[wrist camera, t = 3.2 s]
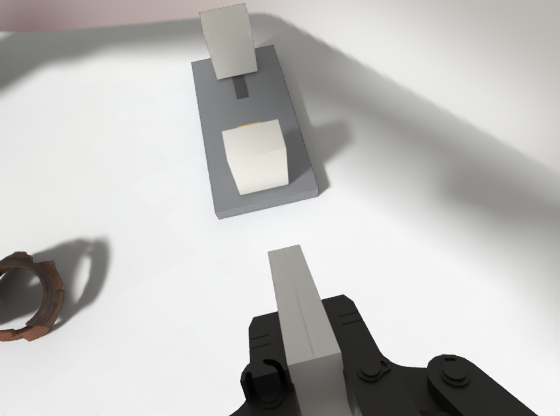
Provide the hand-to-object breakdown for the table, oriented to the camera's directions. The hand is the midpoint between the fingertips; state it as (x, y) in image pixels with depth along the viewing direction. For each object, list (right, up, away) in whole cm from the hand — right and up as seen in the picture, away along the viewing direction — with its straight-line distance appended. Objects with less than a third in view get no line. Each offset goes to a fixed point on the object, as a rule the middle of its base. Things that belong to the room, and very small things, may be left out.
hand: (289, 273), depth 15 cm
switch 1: (-7, +23, +30) cm, 38 cm away
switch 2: (-3, +7, +22) cm, 23 cm away
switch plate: (-5, +15, +29) cm, 33 cm away
